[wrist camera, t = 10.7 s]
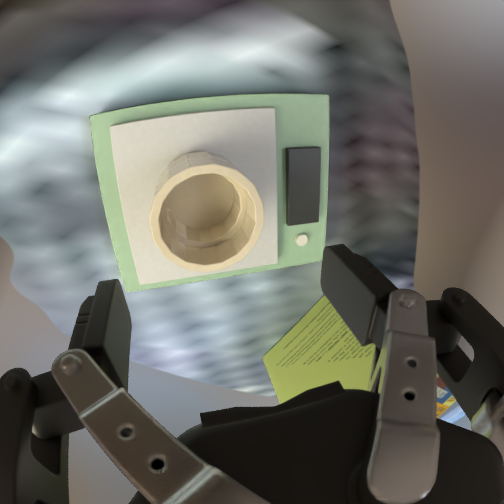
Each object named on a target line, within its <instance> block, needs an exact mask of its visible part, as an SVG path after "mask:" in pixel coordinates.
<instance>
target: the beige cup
mask: <svg viewBox="0 0 504 504" xmlns="http://www.w3.org/2000/svg"><path fill="white" fill-rule="evenodd" d="M149 221H150V226H151V232H152V237H153V240H154V242H155V244H156V245H157V247H158V248H159V249H160V251H161V252H162V254H163V255H164V257H166V258H167V259H168V260H170V261H171V262H173V263H175V264H176V265H178V266H179V267H181V268H183V269H187V270H192V271H197V272H211V271H217V270H223V269H226V268H228V267H229V266H231V265H233V264H235V263H237V262H239V261H241V260H242V259H243V258H244V257H245V256H246V255H247V254H248V253H249V252H250V251H251V250H252V248H253V247H254V246H255V245H256V243H257V242H258V239H259V237H260V234H261V231H262V229H263V226H264V204H263V201H262V199H261V197H260V195H259V193H258V191H257V189H256V187H255V185H254V183H253V182H252V181H251V180H250V179H249V178H248V177H247V176H246V175H245V174H244V173H243V172H242V171H241V170H240V169H239V168H238V167H237V166H235V165H234V164H233V163H232V162H231V161H229V160H228V159H227V158H226V157H224V156H222V155H218V154H215V153H211V152H208V151H202V152H193V153H188V154H185V155H183V156H181V157H179V158H177V159H176V160H174V161H172V162H171V163H170V164H169V165H168V166H167V167H166V168H165V170H164V171H163V172H162V174H161V175H160V176H159V178H158V180H157V184H156V188H155V192H154V196H153V201H152V207H151V212H150V220H149Z"/></svg>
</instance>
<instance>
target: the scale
mask: <svg viewBox="0 0 504 504" xmlns="http://www.w3.org/2000/svg"><path fill="white" fill-rule="evenodd" d="M90 125H91V133H92V140H93V148H94V154H95V161H96V167H97V173H98V178H99V184H100V189H101V194H102V199H103V204H104V209H105V214H106V218H107V223H108V227H109V231H110V235H111V240H112V244H113V248H114V251H115V255H116V259H117V263H118V266H119V270H120V274H121V277H122V281H123V284H124V287H125V291H126V292H133V291H140V290H146V289H153V288H160V287H166V286H173V285H179V284H186V283H192V282H199V281H205V280H211V279H218V278H224V277H230V276H236V275H242V274H248V273H254V272H260V271H266V270H272V269H278V268H284V267H290V266H295V265H301V264H307V263H312V262H318V261H322V258H323V250H324V248H325V236H326V220H327V200H328V173H329V95H324V94H243V95H225V96H212V97H201V98H191V99H182V100H174V101H166V102H159V103H153V104H146V105H140V106H134V107H129V108H123V109H118V110H113V111H108V112H104V113H99V114H95V115H91V116H90ZM202 151H208V152H211V153H215V154H218V155H222V156H224V157H226V158H227V159H228V160H229V161H231V162H232V163H233V164H234V165H235V166H237V167H238V168H239V169H240V170H241V171H242V172H243V173H244V174H245V175H246V176H247V177H248V178H249V179H250V180H251V181H252V182H253V183H254V185H255V187H256V189H257V191H258V193H259V195H260V197H261V199H262V201H263V204H264V226H263V229H262V231H261V234H260V237H259V239H258V242H257V243H256V245H255V246H254V247H253V248H252V250H251V251H250V252H249V253H248V254H247V255H246V256H245V257H244V258H243V259H242V260H241V261H239V262H237V263H235V264H233V265H231V266H229V267H228V268H226V269H223V270H217V271H211V272H197V271H192V270H187V269H183V268H181V267H179V266H178V265H176V264H175V263H173V262H171V261H170V260H168V259H167V258H166V257H164V255H163V254H162V252H161V251H160V249H159V248H158V247H157V245H156V244H155V242H154V240H153V237H152V232H151V226H150V221H149V220H150V212H151V207H152V201H153V196H154V192H155V188H156V184H157V180H158V178H159V176H160V175H161V174H162V172H163V171H164V170H165V168H166V167H167V166H168V165H169V164H170V163H171V162H172V161H174V160H176V159H177V158H179V157H181V156H183V155H185V154H188V153H193V152H202Z"/></svg>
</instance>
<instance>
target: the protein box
mask: <svg viewBox="0 0 504 504" xmlns="http://www.w3.org/2000/svg"><path fill="white" fill-rule="evenodd" d="M375 347H376V346H375V345H374V343H372V344H369V345H366V346H363V347H362V346H361V344H360V343H359V341H358V340H357V339H356V337H355V336H354V334H353V333H352V332H351V330H350V329H349V328H348V326H347V325H346V323H345V322H344V321H343V319H342V318H341V316H340V315H339V314H338V312H337V311H336V310H335V308H334V307H333V306H332V304H331V303H330V301H329V300H328V299H327V297H326V296H325V295H324V296H323V297H322V298H321V299H320V300H319V301H318V302H317V303H316V304H315V305H314V306H313V307H312V309H311V310H310V311H309V312H308V313H307V314H306V315H305V316H304V317H303V318H302V319H301V320H300V321H299V322H298V323H297V324H296V325H295V326H294V327H293V328H292V329H291V330H290V331H289V332H288V333H287V334H286V335H285V336H284V337H283V338H282V339H281V340H280V341H279V342H278V343H277V344H276V345H275V346H274V347H273V348H272V349H270V350H269V351H268V352H267V353H266V354H265V355H264V356H263V361H264V364H265V367H266V369H267V372H268V375H269V377H270V380H271V382H272V385H273V387H274V390H275V393H276V395H277V398H278V400H279V403H280V404H281V403H283V402H285V401H287V400H289V399H291V398H293V397H295V396H297V395H299V394H301V393H302V392H304V391H306V390H308V389H312V388H315V387H319V386H322V385H325V384H329V383H332V382H335V381H338V380H339V381H340V383H341V385H342V386H343V388H344V389H361V390H367V386H368V381H369V376H370V371H371V365H372V359H373V353H374V350H375ZM455 401H456V399H455V398H454V396H453V395H452V393H451V392H450V391H449V389H448V388H447V386H446V385H445V384H444V382H443V381H442V379H441V378H440V377H439V375H438V374H437V411H436V418H438V417H439V416H440V415H441V414H442V413H443V412H444V411H445V410H447V408H449V407H450V406H451V405H452V404H453V403H454V402H455Z"/></svg>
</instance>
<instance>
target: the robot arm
mask: <svg viewBox="0 0 504 504" xmlns="http://www.w3.org/2000/svg"><path fill="white" fill-rule="evenodd" d="M321 287H322V291H323V293H324V295H325V296H326V297H327V299H328V300H329V301H330V303H331V304H332V306H333V307H334V308H335V310H336V311H337V312H338V314H339V315H340V316H341V318H342V319H343V321H344V322H345V323H346V325H347V326H348V328H349V329H350V330H351V332H352V333H353V334H354V336H355V337H356V339H357V340H358V341H359V343H360V344H361V346H362V347H363V346H366V345H369V344H372V343H374V345H375V346H376V347H375V350H374V353H373V359H372V365H371V371H370V376H369V381H368V386H367V390H361V389H344V388H343V386H342V385H341V383H340V381H339V380H338V381H335V382H332V383H329V384H325V385H322V386H319V387H315V388H312V389H308V390H306V391H304V392H302V393H301V394H299V395H297V396H295V397H293V398H291V399H289V400H287V401H285V402H283V403H281V404H279V405H277V406H274V407H233V408H228V409H222V410H217V411H211V412H205V413H200V417H201V422H202V423H201V424H199V425H196V426H194V427H192V428H190V429H189V430H187V431H185V432H184V433H183V434H181V435H180V436H179V437H177V438H175V437H174V436H173V435H172V434H171V433H170V432H169V431H167V430H166V429H165V428H164V427H163V426H162V425H161V424H160V423H159V422H158V421H156V420H155V419H154V418H153V417H152V416H151V415H150V414H149V413H148V412H147V411H146V410H145V409H144V408H143V407H142V406H141V405H140V404H139V403H138V402H137V401H136V400H135V399H134V398H133V397H132V396H131V395H130V394H129V393H128V371H129V354H130V340H131V328H132V325H131V317H130V312H129V309H128V306H127V303H126V300H125V297H124V294H123V291H122V287H121V284H120V282H119V280H118V279H113V280H106V281H100V282H99V283H98V286H97V289H96V293H95V296H88V298H87V299H86V300H85V301H84V302H83V304H82V305H81V307H80V310H79V313H78V317H77V320H76V325H75V327H74V330H73V334H72V337H71V341H70V344H69V348H68V350H67V351H65V352H63V353H62V354H60V355H59V356H58V357H57V358H56V359H55V360H54V362H53V364H52V368H51V371H49V372H46V373H43V374H40V375H38V376H34V377H31V376H30V374H29V373H28V372H27V370H25V369H23V368H14V369H11V370H9V371H7V372H6V373H5V374H4V375H3V376H2V377H1V378H0V504H69V489H68V447H69V433H71V432H74V431H77V430H80V429H83V428H86V429H87V430H88V432H89V433H90V434H91V436H92V437H93V438H94V439H95V441H96V442H97V443H98V445H99V446H100V447H101V448H102V450H103V451H104V452H105V453H106V454H107V456H108V457H109V458H110V459H111V461H112V462H113V463H114V464H115V465H116V466H117V468H118V469H119V470H120V471H121V472H122V473H123V474H124V476H125V477H126V478H127V479H128V480H129V481H130V482H131V483H132V484H133V485H134V486H135V487H136V488H137V490H138V491H137V493H136V494H135V496H134V497H133V498H132V500H131V501H130V502H129V504H504V327H503V326H502V325H501V324H500V323H499V322H498V321H497V320H496V319H495V318H494V317H493V316H492V315H491V314H490V313H489V312H488V311H487V310H486V309H485V308H484V307H483V306H482V305H481V304H480V303H479V302H478V301H477V300H475V299H474V298H473V297H472V296H471V295H470V294H469V293H467V292H466V291H464V290H462V289H459V288H447V289H445V290H444V291H443V294H442V297H441V300H430V301H425V299H424V297H423V296H422V295H420V294H419V293H417V292H416V291H413V290H410V289H398V288H397V287H396V286H395V285H394V284H393V283H392V282H391V281H390V280H389V279H387V278H386V277H385V276H384V275H383V274H382V273H380V271H379V270H378V269H377V268H376V267H374V265H373V264H372V263H371V262H369V261H368V260H367V259H366V258H364V257H362V256H360V255H358V254H354V253H353V252H352V251H351V250H349V249H348V248H347V247H346V246H345V245H344V244H338V245H332V246H326V247H325V248H324V250H323V258H322V270H321ZM461 335H462V336H463V337H464V338H465V339H466V340H467V342H468V343H469V344H470V345H471V346H472V348H473V350H474V360H473V362H472V361H471V360H470V359H469V358H468V357H467V356H466V354H465V353H464V352H463V351H462V350H461V348H460V347H459V346H458V345H457V343H458V341H459V339H460V337H461ZM437 374H438V375H439V377H440V378H441V379H442V381H443V382H444V384H445V385H446V386H447V388H448V389H449V391H450V392H451V393H452V395H453V396H454V398H455V399H456V401H457V402H458V403H459V405H460V406H461V408H462V409H463V411H464V412H465V414H466V415H467V417H468V418H469V420H470V421H471V428H472V431H470V430H467V429H465V428H462V427H459V426H456V425H454V424H451V423H448V422H446V421H443V420H441V419H438V418H436V411H437Z"/></svg>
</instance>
